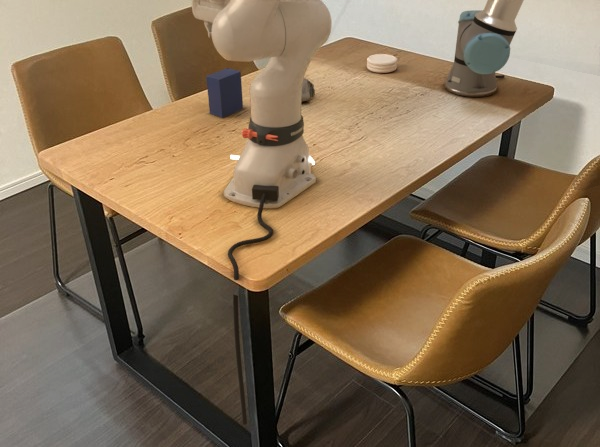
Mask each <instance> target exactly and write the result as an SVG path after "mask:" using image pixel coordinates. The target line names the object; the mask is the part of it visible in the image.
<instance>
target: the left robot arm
mask: <svg viewBox="0 0 600 447" xmlns="http://www.w3.org/2000/svg"><path fill="white" fill-rule="evenodd" d="M191 11H192V15H193V17H194V18H195V19H196V20H200V21H203V25H204V28H205V29H206V31H207V36H208V38H209V39H212V40H211V41H212V43H213V47H214V49H215V50H216V52H217V53H218V54H219V55H220V56H221V57H222V58H223V59H224V60H225V61H229V62H248V63H249V62H250V63H251V62H254V61H260V60H265V59H268V63H267V64H266V66H265V67H264V68H263V69H262V70H261V71H260V72H259V73H258V74H257V75H255V76H254V77H253V79H252V81H251V83H250V86H249V101H250V102H249V103H250V117H249V123H248V126H247V128H245V127H244V128H243V129H242V131H241V137H242V138H244V139H247V140H246V142H245V144H244V146H243V148H242V151H241V153H240V154H239V155H236V154H230V156H229V157H230V160H237V161H236V163H235V166H234V167H233V168H234V169H233V177H232V178H231V180H230V181H229V183H228V184H227V186H226V187H225V188H224V190H223V196H224V198H225V199H228V200H229V201H231V202H233V203H237V204H239V205H244V206H248V207H252V208H258V210H257V214H256V216H257V221H258V224H259V225H260V226H261V227H262V228H264V229H265V230H266V231H268V233H267V234H266V235H264V236H261V237H257V238H250V239H244V240H241V241H238V242H236V243H234V244H233V245H232V246H231V247H230V248H229V249H228V250H227V258H228V259H229V261H230V263H231V265H232V268H233V279H234V281H239V280H240V271H239V265H238V262H237V260H236V258H235V257H234V255H233V253H234V251H236V249H238V248H239V247H242V246H247V245H252V244H258V243H263V242H265V241H267V240H269V239H271V238H272V236H273V235H274V229H273V228H272V227H271V226H270V225H269V224H268V223H265V221H264V220H263V216H262V215H263V210H264V209H278V208H280V207H283V205H285V204H286V203H288V202H289V201H292V199H294V198H295V197H296V196H298V195H299V194H301V193H303V192H304V191H305V190H307V189H308V188H309V187H311V186H313V185H314V184H316V182H317V176H316V175H315V174H314V173H312V167H311V164H312V166H315V160H314V159H313V157H312V156H311V154H310V147H309V145H308V144H307V142H306V140H305V138H304V133H305V132H304V131H305V130H304V127H305V121H304V116H303V115H302V101H301V98H302V85H303V80H304V78H305V76H306V72H307V71H308V67H309V66H310V63H311V62H312V61H313V60H312V59H313V58H314V56H316V53H317V52H318V51H319V50H320V48H322V47H323V45H324V44H325V43H327V41H328V39H329V38H330V35H331V32H332V25H333V22H332V16H331V12H330V10H329V8H328V6H327V5H326V4H325V3H324V2H323V1H322V0H191ZM232 297H233V298H232V304H233V305H232V306H233V329H234V330H233V331H234V332H233V333H234V346H235V357H236V367H237V368H236V369H237V377H238V378H237V379H238V386H239V388H238V389H239V397H240V405H241V406H240V407H241V417H242V425H244V426H246V425H247V424H248V418H247V406H246V405H247V404H246V395H245V384H244V376H243V364H242V354H241V353H242V352H241V340H240V322H239V321H240V320H239V319H240V318H239V295H236V294H233V295H232Z"/></svg>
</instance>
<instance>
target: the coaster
mask: <svg viewBox="0 0 600 447" xmlns="http://www.w3.org/2000/svg"><path fill="white" fill-rule="evenodd" d="M366 61H367V62H366V69H367V70H368V71H370V72H373V73H377V74H387V73H388V74H389V73H392V72H395V71H396V70H397V68H398V66H397V65H398V58H397V56H395V55H392V54H389V53H376V54H372V55H369V56H368V57H367V58H366Z"/></svg>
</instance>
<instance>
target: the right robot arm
mask: <svg viewBox="0 0 600 447" xmlns="http://www.w3.org/2000/svg"><path fill="white" fill-rule="evenodd" d="M524 1H525V0H487V1H486V3H485V6H484V8H483V10H480V9H479V10H477V9H476V10H474V9H473V10H464V11H462V12H461V13H460V14H459V20H458V21H457V24H458V26H457V35H456V43H455V52H454V60H453V63H452V66H451V68H450V70H449V72H448V74H447V77H446V79H445V82H444V83H445V84H444V88H445V90H446V91H447V92H449V93H451V94H454V95H456V96H461V97H467V98H482V97H487V96H488V97H489V96H491V95H493V94H495V93H496V92H497V89H498V81H497V79H505V77H506V76H505V75H504V74H501V75H496V72H499V71H500V70H501V69H502V68H504V67H505V66H506V64H507V62H508V61H509V58H510V55H511V43H512V41H513V39H514V37H515V34H516V32H517V30H518V27H517V24H516V21H515V20H516V19H517V16H518V15H519V12H520V10H521V7H522V5H523V3H524Z"/></svg>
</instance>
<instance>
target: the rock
mask: <svg viewBox="0 0 600 447" xmlns="http://www.w3.org/2000/svg"><path fill="white" fill-rule="evenodd" d="M315 94H316V90H315V85H314V84H313V82H311V81H310V80H309V79H308V78H305V77H304V80H303V85H302V98H301V102H305V101H307V102H310V101H311V100H312V99H313V98H314V97H315Z"/></svg>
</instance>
